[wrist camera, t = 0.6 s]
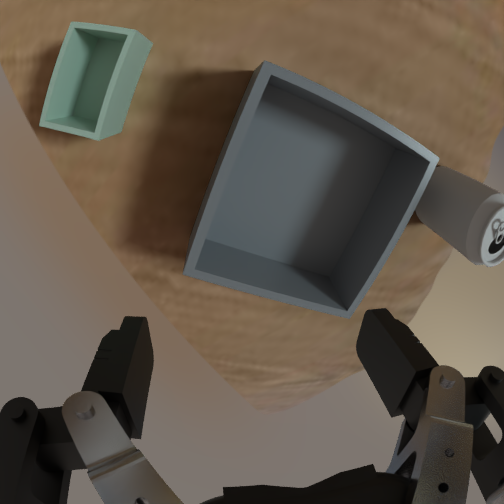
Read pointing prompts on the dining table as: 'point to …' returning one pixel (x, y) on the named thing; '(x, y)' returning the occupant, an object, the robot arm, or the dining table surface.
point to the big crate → (305, 196)
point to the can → (464, 215)
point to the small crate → (94, 80)
